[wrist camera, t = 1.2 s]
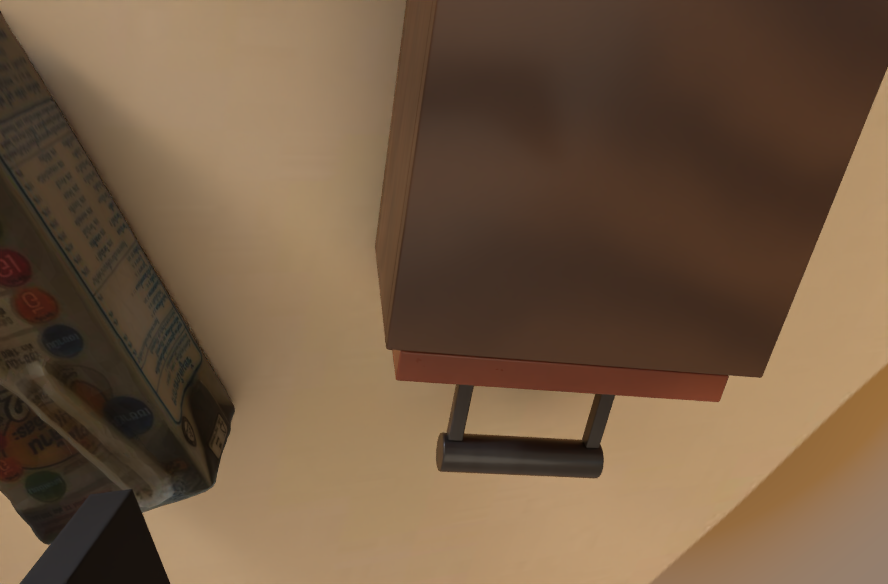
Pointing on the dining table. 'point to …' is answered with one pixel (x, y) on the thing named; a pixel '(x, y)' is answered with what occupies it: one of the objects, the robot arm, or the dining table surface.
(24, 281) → the beverage carton
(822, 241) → the dining table surface
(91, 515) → the robot arm
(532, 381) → the drawer
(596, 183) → the cabinet
